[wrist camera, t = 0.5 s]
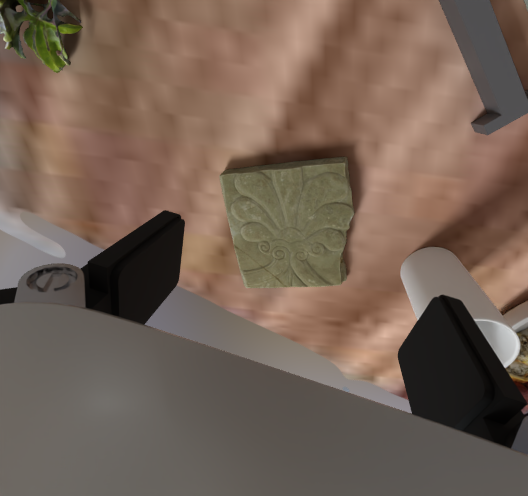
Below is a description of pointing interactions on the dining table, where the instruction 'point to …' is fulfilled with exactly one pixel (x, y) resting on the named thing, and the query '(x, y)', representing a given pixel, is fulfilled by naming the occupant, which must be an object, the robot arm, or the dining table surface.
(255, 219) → the decorative tile
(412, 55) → the dining table surface
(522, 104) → the grey t-shaped block
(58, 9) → the green leafy plant
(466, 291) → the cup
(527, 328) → the bowl
